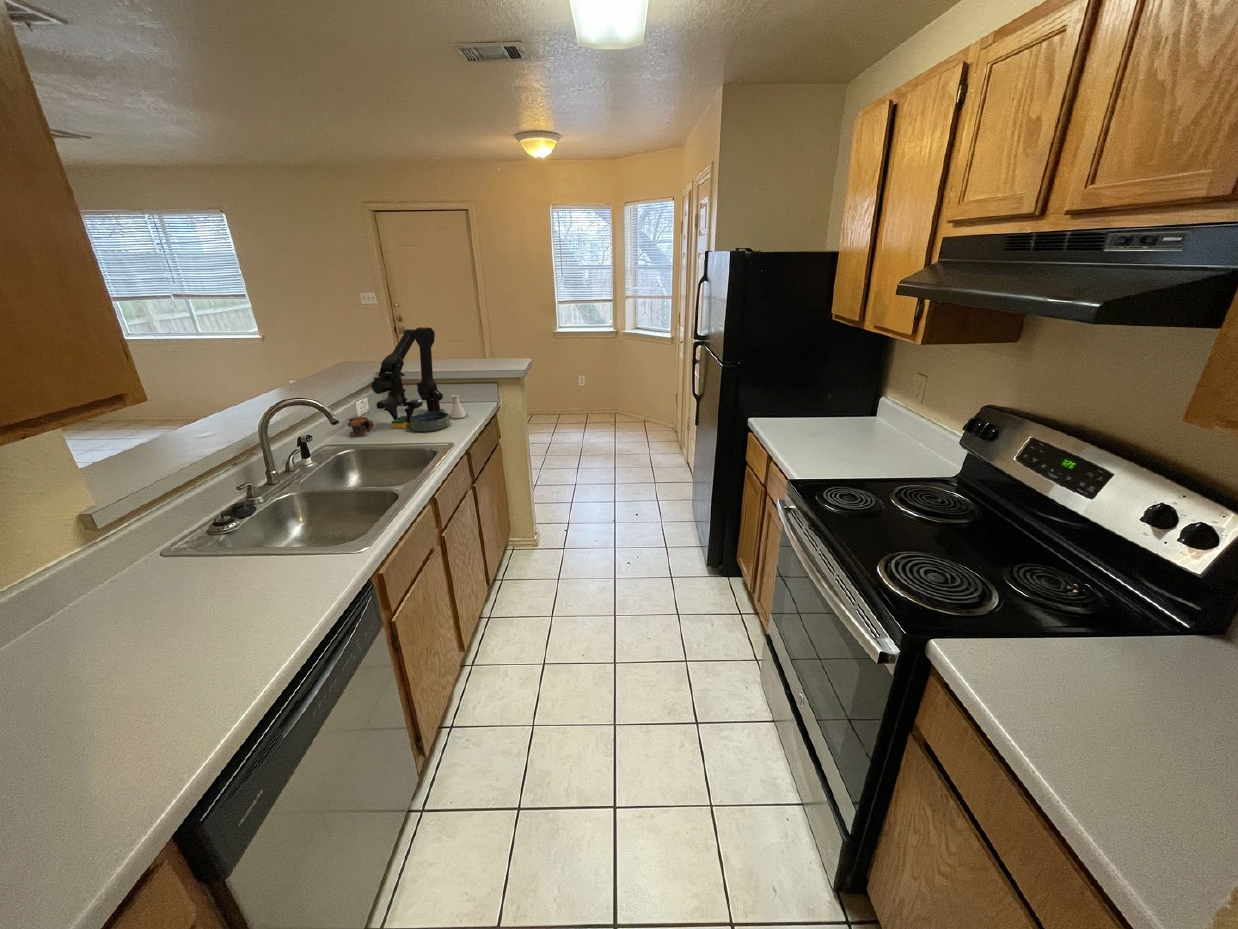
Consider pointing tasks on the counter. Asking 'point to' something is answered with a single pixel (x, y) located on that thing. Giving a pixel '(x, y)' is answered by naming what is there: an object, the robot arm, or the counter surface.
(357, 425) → the pottery mug
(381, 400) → the robot arm
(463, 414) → the flask
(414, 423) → the bowl
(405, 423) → the sponge
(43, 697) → the counter surface
